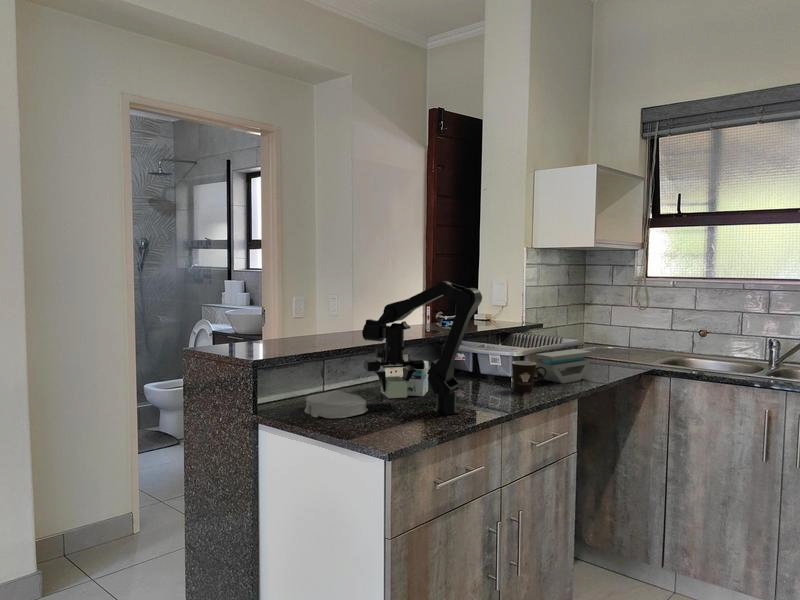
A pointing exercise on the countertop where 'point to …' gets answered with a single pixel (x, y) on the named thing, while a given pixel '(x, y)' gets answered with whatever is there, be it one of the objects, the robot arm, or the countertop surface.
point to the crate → (395, 387)
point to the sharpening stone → (564, 365)
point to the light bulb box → (418, 382)
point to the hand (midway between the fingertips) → (393, 391)
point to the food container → (335, 405)
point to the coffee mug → (524, 375)
